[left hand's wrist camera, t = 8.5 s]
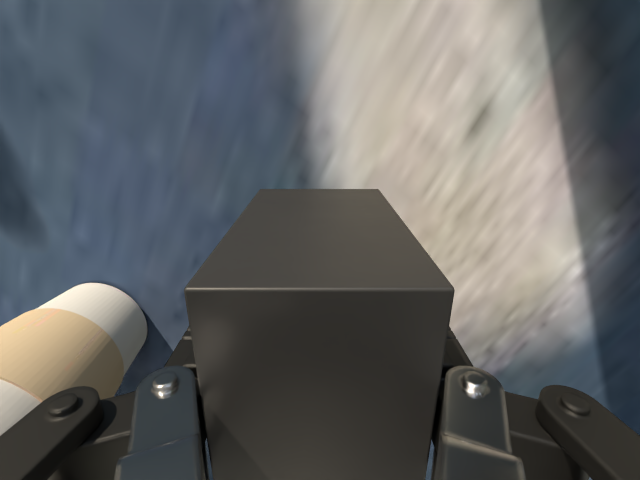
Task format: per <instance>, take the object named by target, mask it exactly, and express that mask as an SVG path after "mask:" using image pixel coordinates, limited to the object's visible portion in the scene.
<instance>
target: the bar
mask: <svg viewBox="0 0 640 480" xmlns="http://www.w3.org/2000/svg"><path fill="white" fill-rule="evenodd" d="M184 293H185V299H186V306H187V312H188V319H189V325H190V332H191V338H192V345H193V351H194V358H195V364H196V370H197V377H198V383H199V390H200V396H201V403H202V409H203V416H204V422H205V428H206V435H207V441H208V448H209V454H210V461H211V467H212V474H213V480H425V476H426V470H427V464H428V457H429V451H430V444H431V438H432V431H433V425H434V419H435V412H436V406H437V399H438V393H439V387H440V380H441V374H442V367H443V361H444V354H445V348H446V342H447V335H448V329H449V322H450V316H451V309H452V303H453V297H454V288H453V286H452V285H451V284H450V282H449V281H448V280H447V278H446V277H445V276H444V275H443V273H442V272H441V271H440V269H439V268H438V267H437V265H436V264H435V263H434V261H433V260H432V259H431V257H430V256H429V255H428V254H427V252H426V251H425V250H424V248H423V247H422V246H421V244H420V243H419V242H418V240H417V239H416V238H415V237H414V235H413V234H412V233H411V231H410V230H409V229H408V227H407V226H406V225H405V223H404V222H403V221H402V220H401V218H400V217H399V216H398V214H397V213H396V212H395V210H394V209H393V208H392V206H391V205H390V204H389V203H388V201H387V200H386V199H385V197H384V196H383V195H382V193H381V192H380V191H379V190H378V189H260V190H259V192H258V193H257V194H256V195H255V197H254V198H253V199H252V201H251V202H250V203H249V205H248V206H247V207H246V209H245V210H244V211H243V212H242V214H241V215H240V216H239V218H238V219H237V220H236V222H235V223H234V224H233V226H232V227H231V228H230V229H229V231H228V232H227V233H226V235H225V236H224V237H223V239H222V240H221V241H220V243H219V244H218V245H217V246H216V248H215V249H214V250H213V252H212V253H211V254H210V256H209V257H208V258H207V260H206V261H205V262H204V263H203V265H202V266H201V267H200V269H199V270H198V271H197V273H196V274H195V275H194V277H193V278H192V279H191V280H190V282H189V283H188V284H187V286H186V287H185V289H184Z"/></svg>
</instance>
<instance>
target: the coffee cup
mask: <svg viewBox="0 0 640 480" xmlns="http://www.w3.org/2000/svg"><path fill="white" fill-rule="evenodd" d="M146 337H147V323H146V319H145V316H144V314H143V312H142V310H141V309H140V307H139V306H138V305H137V303H136V302H135V301H134V300H133V299H132V298H131V297H129V296H128V295H127V294H125V293H124V292H122V291H121V290H119V289H117V288H114V287H112V286H109V285H105V284H100V283H86V284H81V285H78V286H75V287H73V288H71V289H70V290H68V291H66V292H64V293H63V294H61V295H59V296H58V297H56V298H54V299H52V300H51V301H49V302H47V303H45V304H44V305H42V306H40V307H39V308H37V309H35V310H31V311H28V312H26V313H24V314H22V315H20V316H18V317H16V318H15V319H13V320H11V321H9V322H8V323H6V324H4V325H2V326H1V327H0V436H1V435H2V434H3V433H4V432H6V431H7V430H8V429H9V428H11V427H12V426H13V425H14V424H15V423H17V422H18V421H19V420H20V419H22V418H23V417H24V416H25V415H26V414H28V413H29V412H30V411H31V410H33V409H34V408H35V407H36V406H38V405H39V404H40V403H41V402H43V401H44V400H45V399H47V398H49V397H50V396H52V395H54V394H56V393H58V392H60V391H63V390H66V389H69V388H73V387H78V386H88V387H92V388H94V389H96V390H97V391H98V394H99V397H100V400H102V399H107V398H111V397H114V395H115V393H116V392H117V390H118V388H119V387H120V385H121V383H122V380H123V377H124V375H125V373H126V372H127V370H128V368H129V367H130V365H131V364H132V362H133V360H134V359H135V357H136V356H137V354H138V352H139V351H140V349H141V348H142V346H143V344H144V342H145V340H146Z"/></svg>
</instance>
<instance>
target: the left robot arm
mask: <svg viewBox="0 0 640 480" xmlns="http://www.w3.org/2000/svg"><path fill="white" fill-rule="evenodd" d="M206 438H207V435H206V428H205V422H204V416H203V409H202V403H201V396H200V390H199V383H198V377H197V370H196V364H195V358H194V351H193V345H192V338H191V332H190V325H189V327H188V329H187V331H186V332H185V333H184V335H183V337H182V340H180V342H179V343H178V345H177V347H176V348H175V350H174V352H173V353H172V355H171V356H170V358H169V360H168V361H167V363H166V365H165V366H164V368H161V369H158V370H156V371H154V372H152V373H151V374H149V375H148V376H146V377H145V378H144V379H143V380H142V381H141V382H140V383H139V385H138V387H137V389H136V391H133V392H131V393H127V394H123V395H119V396H115V397H111V398H107V399H102V400H100V397H99V394H98V391H97V390H96V389H94V388H92V387H88V386H78V387H73V388H69V389H66V390H63V391H60V392H58V393H56V394H54V395H52V396H50V397H49V398H47V399H45V400H44V401H43V402H41V403H40V404H39V405H38V406H36V407H35V408H34V409H33V410H31V411H30V412H29V413H28V414H26V415H25V416H24V417H23V418H22V419H20V420H19V421H18V422H17V423H15V424H14V425H13V426H12V427H11V428H9V429H8V430H7V431H6V432H4V433H3V434H2V435H1V436H0V480H209V471H208V461H207V452H206V445H205V441H206ZM431 439H432V442H433V444H434V451H433V460H432V470H431V480H588V479H589V477H591V479H592V480H640V436H639V435H638V434H637V433H636V432H634V431H633V430H632V429H631V428H629V427H628V426H627V425H626V424H625V423H623V422H622V421H621V420H620V419H618V418H617V417H616V416H615V415H614V414H612V413H611V412H610V411H609V410H607V409H606V408H605V407H604V406H602V405H601V404H600V403H599V402H597V401H596V400H595V399H593V398H592V397H590V396H589V395H587V394H585V393H583V392H581V391H579V390H576V389H573V388H571V387H567V386H561V385H550V386H546V387H544V388H543V389H542V390H541V392H540V395H539V398H538V399H534V398H530V397H525V396H521V395H517V394H513V393H509V392H506V391H504V389H503V387H502V385H501V383H500V382H499V381H498V380H497V379H496V378H495V377H494V376H492V375H491V374H489V373H488V372H486V371H484V370H482V369H479V368H476V367H473V365H472V363H471V362H470V360H469V358H468V357H467V355H466V353H465V352H464V350H463V348H462V347H461V345H460V343H459V342H458V340H457V339H456V337H455V335H454V333H453V332H452V331H451V328H450V327H449V329H448V335H447V342H446V348H445V354H444V361H443V367H442V374H441V380H440V387H439V393H438V399H437V406H436V412H435V419H434V425H433V431H432V438H431Z"/></svg>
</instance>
